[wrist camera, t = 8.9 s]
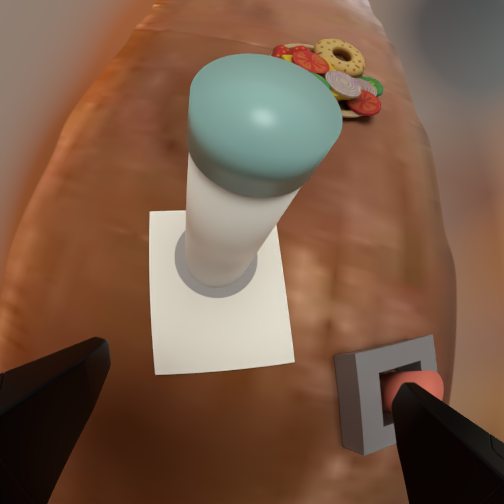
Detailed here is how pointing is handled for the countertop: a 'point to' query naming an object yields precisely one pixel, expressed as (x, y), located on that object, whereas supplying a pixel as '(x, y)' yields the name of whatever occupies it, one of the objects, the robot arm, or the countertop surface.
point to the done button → (422, 378)
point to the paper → (214, 308)
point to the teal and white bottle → (249, 156)
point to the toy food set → (337, 73)
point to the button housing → (375, 389)
